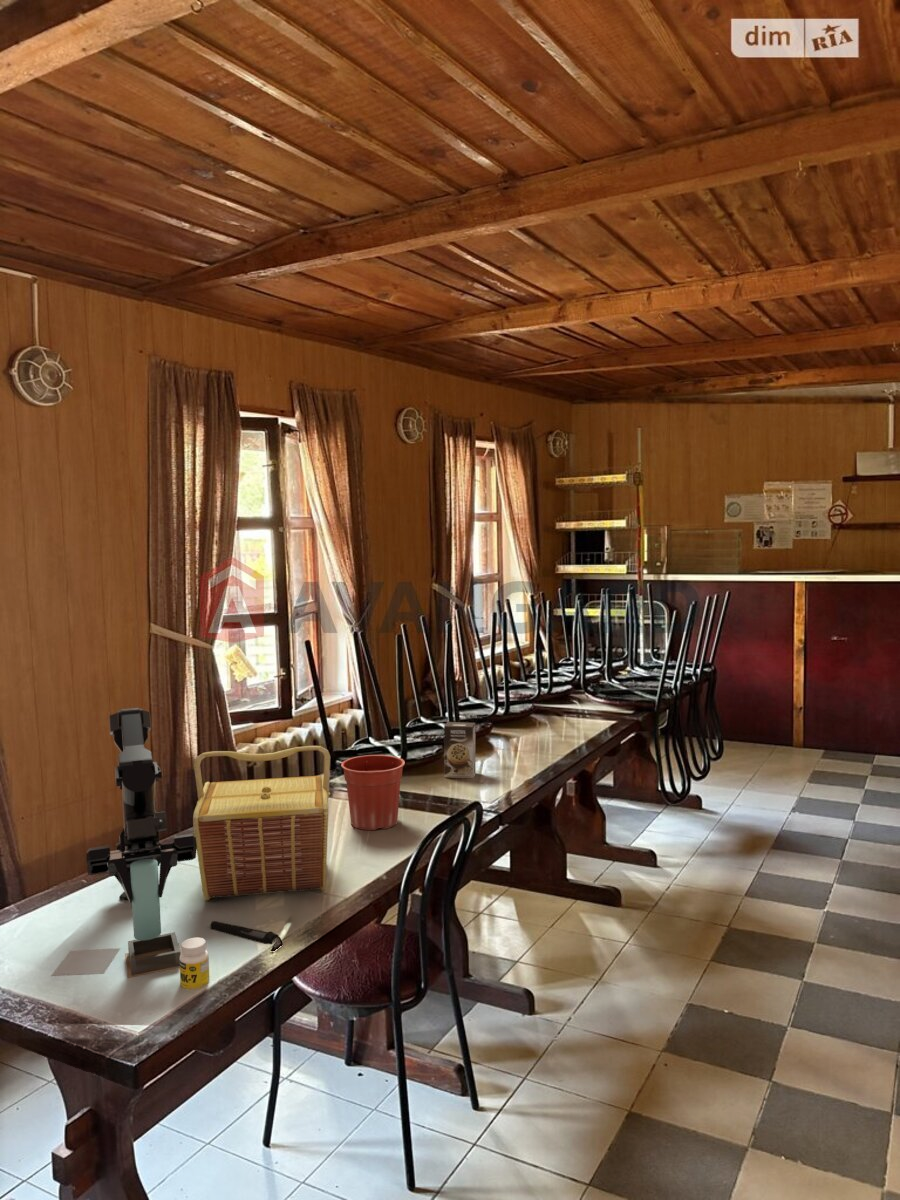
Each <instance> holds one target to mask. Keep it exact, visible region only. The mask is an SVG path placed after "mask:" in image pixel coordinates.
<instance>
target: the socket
mask: <svg viewBox="0 0 900 1200" xmlns="http://www.w3.org/2000/svg"><path fill="white" fill-rule="evenodd" d="M127 948H128V949H127V950H128V952H127V953H125V954H124V955H125V963H126V972H127V979H130V978H136V977H140V976H145V975H150V974H155V973H160V972H165V971H169V970H173V969H180V961H179V958H180V955H181V946H180V944H179V942H178V939H177V933H176V932H169V933H164V934H160V935H159V936H158V937H156V938H153V939H150V940H137V939H133V940H128V941H127Z"/></svg>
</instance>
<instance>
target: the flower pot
mask: <svg viewBox="0 0 900 1200" xmlns="http://www.w3.org/2000/svg"><path fill="white" fill-rule="evenodd" d="M340 766H341V768H342V769H343V775H344V780H345V782H346V789H347V790H346V791H347V798H348V807H349V815H350V816H349V817H350V823H351V824H352V826H353V828H356V829H360V830H363V831H364V830H365V831H377V829H383V830H384V829H385V830H386V829H388V828H392V827H393V826H395V825H396V824H397V823H398V817H399V806H400V805H399V803H400V791H401V780H402V778H403V768H404V766H405V760H404V759H403V758H401V757H397V756H393V755H385V754H368V755H359V756H355V757H351V758H348V759H345V760H343V761H342V763H341V765H340Z"/></svg>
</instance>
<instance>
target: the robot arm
mask: <svg viewBox="0 0 900 1200" xmlns="http://www.w3.org/2000/svg"><path fill="white" fill-rule="evenodd" d="M108 717H109V718H108V719H109V722H108V723H109V735H110V736H113V744H115V746H116V748H117V749H118V751H119V752H120V753H119V754H118V756H117V757H118V758H117V760H118V761H117V762H118V765H115V766H114V772H115V773H114V774H115V777H114V778H115V786H116V787H119V789H120V791H121V790H122V791H121V792H122V796H121V797H122V798H121V799H122V801H121V802H122V815H123V816H122V818H123V828H122V830H121V831H120V834H119V842H118V843H116V850H111V845H110V844H109V845H103V846H95V847H89V848H88V850H87V851H86V853H85V855H86V857H85V859H86V869H87V875H90V876H95V875H101V874H108V876H109V877H115V879H116V880H117V881H118V883H119V884H120V885H121V887H122V889H123V891H122V893H121V894H119V899H120V900H128V901H129V903H132V891H131V872H130V865H131V863H133V862H135V861H137V860H141V859H155V860H157V861H158V867H159V875H158V879H159V899H160V898H162V897H163V894H164V889H165V887H166V882H167V879H168V876H169V874H170V872H171V870H172V868H174V867H176V866H178V863H179V862H180V863H181V862H185V861H186V862H187V861H192V860H195V859H196V858H197V843H196V836H195V834H194V833H187V834H179V835H174V836H173V835H172V843H166V844H165V843H164V844H162V843H161V842H160V836H159V835H160V834H159V832H163V831H167V829H168V820H167V819H168V818H167V812H166V811H159V812H158V811H156V803H155V802H156V801H155V796H156V783H157V782H159V781H160V780H159V779H161V778H163V777H162V769H161V767H160V766H159V765H158V762H157V761H154V759H153V755H152V754H153V753H152V751H151V750H149V749H147V748H145V745H146V743H147V740H148V738H149V734H148V732H151V731H152V722H151V719H152V718H151V711H147V710H143V708H140V707H134V708H132V707H130V708H122V709H120V710H117V712H116V713H115V712H114V713H113V714H111V715H109V716H108Z"/></svg>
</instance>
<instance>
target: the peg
mask: <svg viewBox="0 0 900 1200" xmlns="http://www.w3.org/2000/svg"><path fill="white" fill-rule="evenodd" d="M130 872H131V891H132V902H131V905H132V906H131V907H132V908H131V909H132V925H133V938H134V940H150V939H153V938H156V937H158V936H159V935H162V934H161V933H162V924H161V923H162V922H161V921H162V920H161V903H160V897H159V866H158V861H157V860H155V859H141V860H137V861H135V862H133V863H131V865H130Z"/></svg>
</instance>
